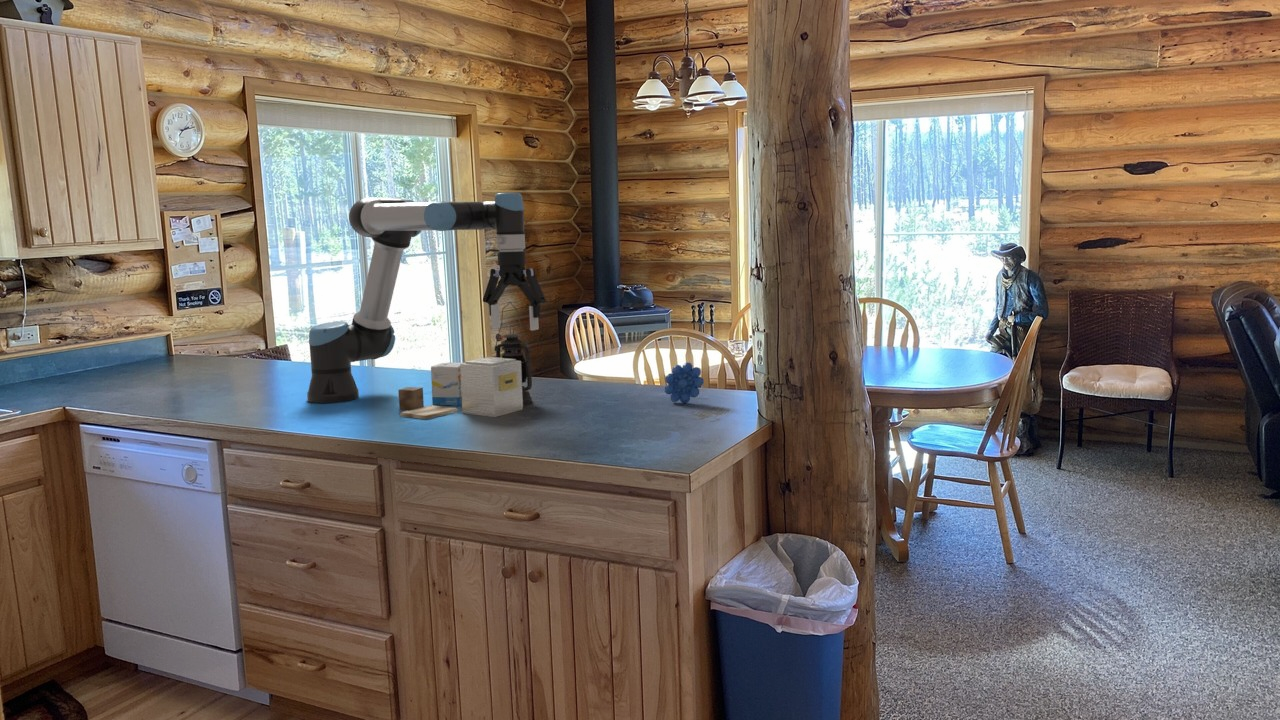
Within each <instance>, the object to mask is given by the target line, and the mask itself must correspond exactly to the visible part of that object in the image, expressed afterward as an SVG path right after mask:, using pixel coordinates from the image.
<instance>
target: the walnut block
mask: <svg viewBox="0 0 1280 720" xmlns="http://www.w3.org/2000/svg"><path fill="white" fill-rule="evenodd" d="M397 391H398V406H399V407H398V409H399V411H404V412H405V411H409V410H413V409H417V408H421V407H425V403H424V402H425V401H424V387H420V386H419V387H417V386H405V387H404V388H401V389H398V390H397Z"/></svg>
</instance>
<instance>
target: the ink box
mask: <svg viewBox="0 0 1280 720" xmlns="http://www.w3.org/2000/svg"><path fill="white" fill-rule="evenodd" d="M463 363H464V362H452V361H451V362H442V363H438V364H435V365H432V366H431V367H430V375H431V377H430V378H431V398H432V400H431V405H435V406H449V407H452V406H453V407H455V406H458V407H459V406H462V392H461V372H460V364H463Z"/></svg>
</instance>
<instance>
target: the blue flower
mask: <svg viewBox="0 0 1280 720" xmlns="http://www.w3.org/2000/svg"><path fill="white" fill-rule="evenodd" d="M671 369H672V372H671V373H668V374H667V375H666V376H665V380H664V381H665V383H666V385H665V387H664V393H665V394H666V395H670V397H669V398H670V401H672V402H673V403H677V402H678V401H680V402H681V403H682V404H687V403H689V402H690V400H691V398H697V397H698V396H699V395H700V389H699V388H701V387H703V385H704V378H703V377H702V376H701V377H700V375H701V373H702V369H701V368H700V367H697V366H696V367H693V364H692V363H691V362H685V363H684V364H683V365H682V366H681V365H679V364H676V365H674V366H673V367H672V368H671Z"/></svg>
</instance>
